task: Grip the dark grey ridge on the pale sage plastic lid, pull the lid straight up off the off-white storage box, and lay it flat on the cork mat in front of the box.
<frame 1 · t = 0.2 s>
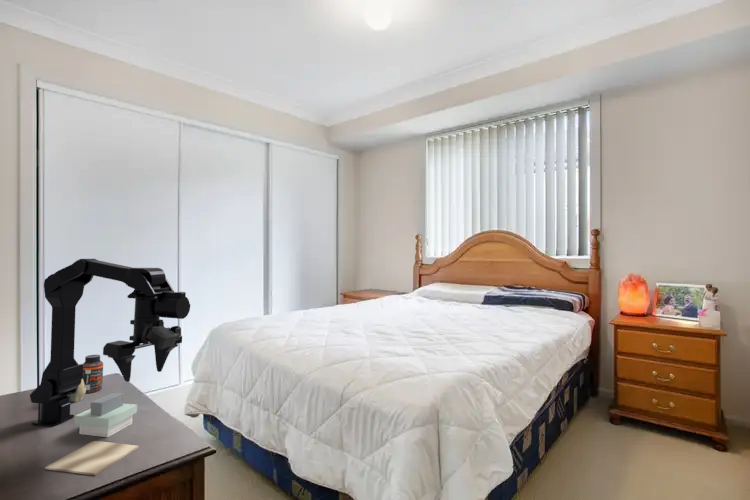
hand: (144, 376, 101), 14 cm above the dresser, tool pointing down, fingers open, 9 cm apart
cork mat: (94, 457, 87), on the dresser
supplement bottle: (91, 391, 128), on the dresser
storage box: (106, 428, 102), on the dresser
lid: (107, 417, 102), point 3 cm above the dresser, touching storage box
ghost figurine: (74, 400, 120), on the dresser
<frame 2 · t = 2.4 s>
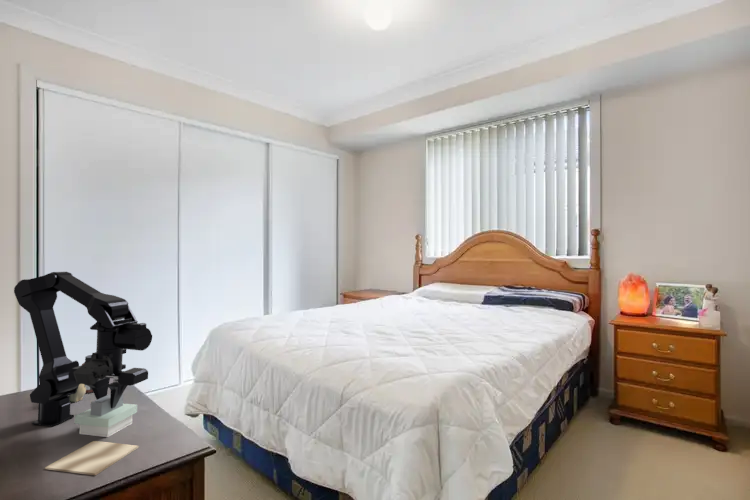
hand: (107, 407, 102), 6 cm above the dresser, tool pointing down, fingers closed on lid, 3 cm apart
lid: (107, 417, 102), point 3 cm above the dresser, touching gripper, storage box
everything else where it was.
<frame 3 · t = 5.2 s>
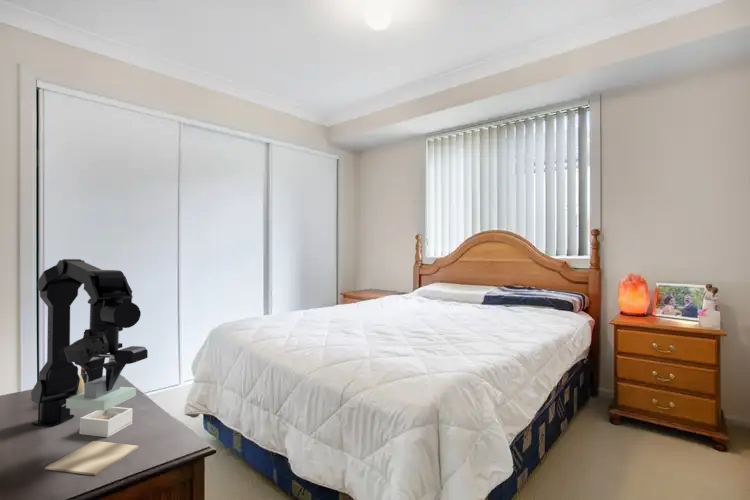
hand: (102, 390, 92), 14 cm above the dresser, tool pointing down, fingers closed on lid, 3 cm apart
lid: (102, 401, 92), point 11 cm above the dresser, touching gripper
everything else where it was.
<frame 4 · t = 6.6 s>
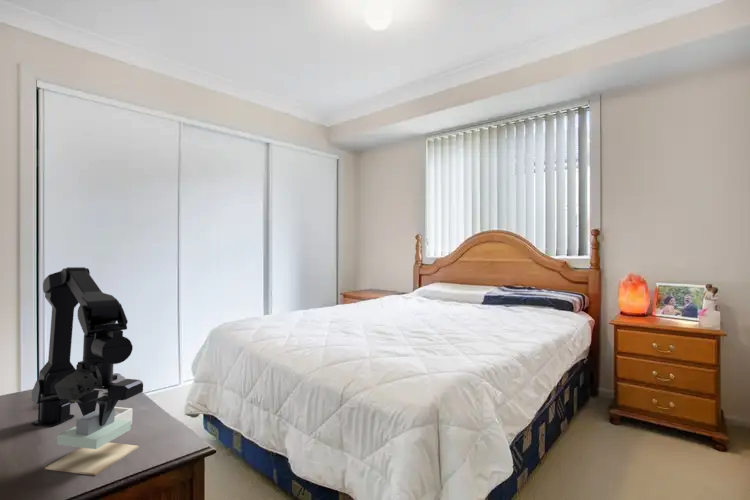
hand: (95, 424, 88), 7 cm above the dresser, tool pointing down, fingers closed on lid, 3 cm apart
lid: (95, 436, 88), point 5 cm above the dresser, touching gripper
everything else where it was.
when the fingers open (5 cm above the dresser, at t = 7.7 s): lid drops 2 cm, resting on cork mat.
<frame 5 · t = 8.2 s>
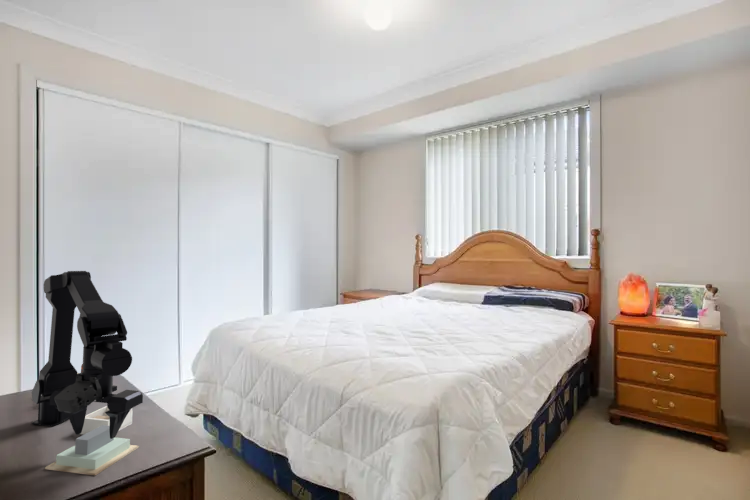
hand: (95, 436, 87), 5 cm above the dresser, tool pointing down, fingers open, 8 cm apart
lid: (94, 455, 87), resting on cork mat
everything else where it was.
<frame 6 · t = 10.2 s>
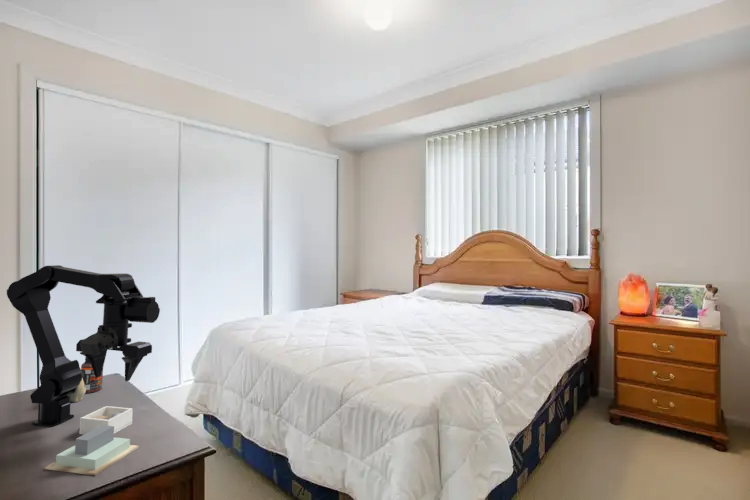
hand: (112, 379, 104), 12 cm above the dresser, tool pointing down, fingers open, 9 cm apart
nothing on the dresser moved.
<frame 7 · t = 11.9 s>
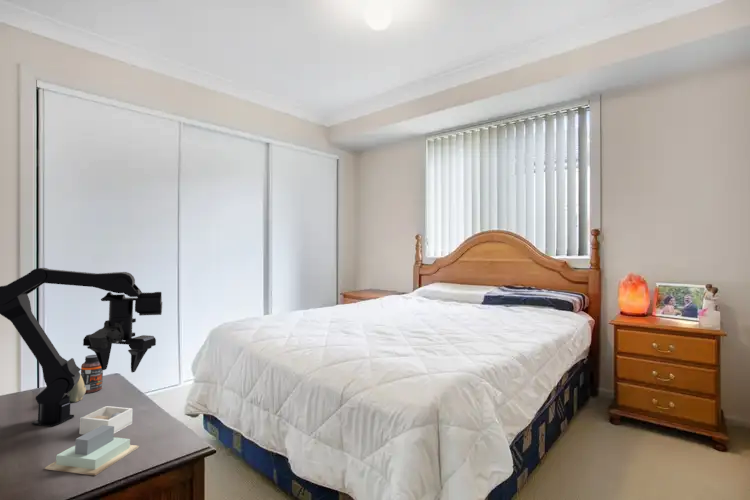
hand: (118, 370, 111), 12 cm above the dresser, tool pointing down, fingers open, 9 cm apart
nothing on the dresser moved.
at the end: lid inside the target area on the cork mat (0.1 cm from its centre), point 0.4 cm above the cork mat's base; lid tilted 0°; the gripper is holding nothing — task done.
